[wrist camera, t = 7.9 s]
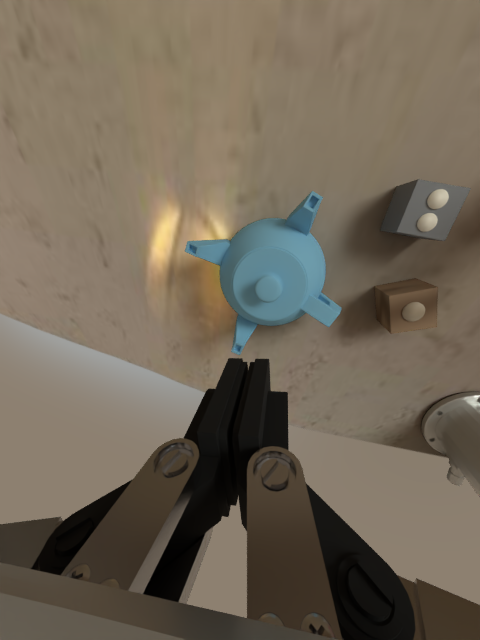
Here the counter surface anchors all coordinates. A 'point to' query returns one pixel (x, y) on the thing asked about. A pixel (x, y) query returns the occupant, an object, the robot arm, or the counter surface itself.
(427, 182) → the charcoal block
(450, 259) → the counter surface
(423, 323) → the walnut block
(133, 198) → the counter surface
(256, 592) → the robot arm
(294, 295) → the teapot
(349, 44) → the counter surface
